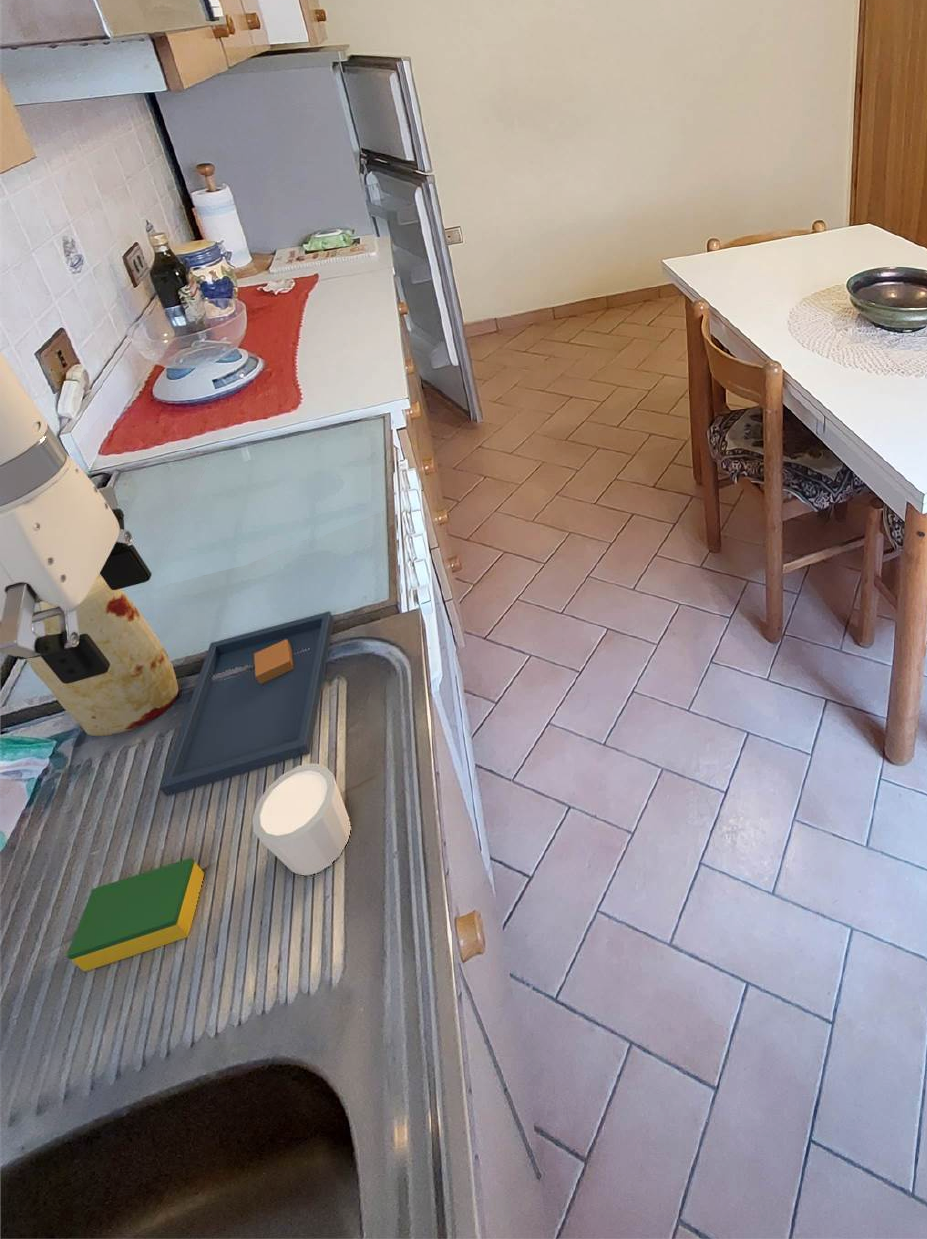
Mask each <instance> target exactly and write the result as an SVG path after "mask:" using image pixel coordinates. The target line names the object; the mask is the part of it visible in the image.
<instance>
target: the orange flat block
mask: <svg viewBox="0 0 927 1239" xmlns="http://www.w3.org/2000/svg"><path fill="white" fill-rule="evenodd" d="M254 662H255V677H256V678H257V680H258V682H259V683H260V684H263V683H265V682H267V681H269V680H271V679H273V678H275V677H278V676H280V675H282V674H284V673H286V672H288V671H290V670H293V669H294V666H293V658H292V650H291V646H290V644H289V642H288V640H287V639H286V640H283V641H281V642H279V643H277V644H275V645H272V646H270V647H268V648H266V649H263V650H261V651H259V652H257V653H255V654H254Z"/></svg>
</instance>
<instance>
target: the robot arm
mask: <svg viewBox="0 0 927 1239" xmlns="http://www.w3.org/2000/svg"><path fill="white" fill-rule="evenodd" d="M45 419H46V418H44V416H43V415H42V413H41V411H40V410H39V409H38V407H37V406H36V404H35V403H34V401H33V400H32V398H31V396H30V395H29V393H28V392H27V390H26V389H25V387H24V386H23V384H22V382H21V381H20V379H19V377H18V376H17V375H16V373H15V372H14V370H13V369H12V367H11V365H10V364H9V362H8V360H6V358H5V356H4V355H3V354H2V352H1V351H0V653H1V654H5V655H8V656H12V657H15V658H17V659H18V660H21V661H22V660H26V659H28V658H37V657H40V656H41V657H42V659H43V660H44V661H45V662H46V663H47V665H48V666H49V667H50V668H51V670H52V671H53V672H54V673H55V674H56V676H57V677H58V678H59V679H60V681H61V682H62V683H65V684H69V683H73V682H76V681H80V680H83V679H87V678H90V677H94V676H97V675H101V674H104V673H106V672H107V671H108V669H109V667H110V663H109V661H108V660H107V658H106V657H105V656H104V654H103V653H102V652H101V650H100V649H99V648H98V646H97V645H96V644H95V642H94V641H93V640H92V638H91V637H90V636H89V635H88V634H87V633H86V634H81V635H79V627H78V618H77V609H76V608H77V607H78V606H79V605H80V604H81V603H82V601H83V600H84V599H85V597H86V596H87V594H88V593H89V591H90V589H91V587H92V586H93V584H94V582H95V580H96V579H97V577H98V575H99V573H100V574H101V576H102V577H103V579H104V580H105V582H106V583H107V584H108V586H109V587H110V589H111V590H118V589H121V590H123V589H125V588H129V587H133V586H136V585H140V584H144V583H147V582H149V581H150V580H151V578H152V575H153V573H152V572H151V570H150V569H149V568H148V566H147V564H146V563H145V561H144V559H143V558H142V557H141V556H142V555H141V554H140V553H139V551H137V549H136V547H135V545H134V544H131V543H132V541H133V535H132V533H131V531H130V530H128V529H125V518H124V517H125V514H124V511H123V510H122V509H121V508H119V503H118V499H117V496H116V495H117V494H116V492H115V491H116V490H115V489H114V487H113V486H111V485H108V486H105V487H101V488H97V486H96V484H94V482H93V481H92V480H91V479H90V478H89V477H88V475H87V474H86V472H84V471H83V468H81V467H80V466H79V465H78V463H76V462H75V461H74V459H73V458H72V457H71V456H70V455H69V454H68V453H67V451H66V450H65V448H64V447H63V445H62V444H61V442H60V440H59V439H58V437H57V436H56V435H55V433H54V431H53V430H52V428H51V426H50V425H49V424H48V423H47V421H46V420H45ZM43 601H44V602H46V603H48V604H50V605H52V606H54V607H55V606H58V605H59V607H55V608H51V609H48V610H44V611H41V606H40V602H43ZM57 615H59V622H60V631H61V633H60V634H53V635H46V632H45V622H44V619H46V618H50V617H54V616H57Z"/></svg>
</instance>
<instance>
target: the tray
mask: <svg viewBox="0 0 927 1239" xmlns="http://www.w3.org/2000/svg"><path fill="white" fill-rule="evenodd" d="M334 623H335V619H334V616H333V614H332V612H331V611H326V612H322V613H318V614H314V615H311V616H307V617H303V618H300V619H296V620H292V621H288V622H284V623H280V624H277V625H273V626H269V627H265V628H261V629H257V630H254V631H249V632H247V633H243V634H238V635H235V636H231V637H228V638H223V639H220V640H216V641H212V642H210V644H209V647H208V649H207V653H206V654H205V658H204V661H203V664H202V666H201V669H200V672H199V675H198V678H197V680H196V684H195V687H194V689H193V692H192V694H191V698H190V701H189V703H188V705H187V709H186V711H185V713H184V716H183V717H184V718H183V721H182V723H181V726H180V728H179V732H178V733H177V738H176V740H175V743H174V746H173V748H172V751H171V754H170V757H169V760H168V763H167V766H166V767H165V771H164V774H163V777H162V779H161V783H160V785H159V789H160V790H161V792H162V793H163V794H164V796H165V797H170V796H172V795H176V794H180V793H182V792H186V791H189V790H193V789H196V788H200V787H203V786H206V785H210V784H213V783H217V782H220V781H223V780H226V779H230V778H234V777H236V776H240V775H243V774H246V773H249V772H253V771H256V770H260V769H263V768H267V767H269V766H273V765H276V764H279V763H284V762H286V761H290V760H294V759H297V758H299V757H300V758H301V757H303V756H306V755H309V754H310V753H311V751H312V750H311V749H312V743H313V738H314V733H315V729H316V728H315V727H316V722H317V716H318V711H319V706H320V700H321V695H322V688H323V683H324V677H325V671H326V666H327V663H328V655H329V651H330V645H331V640H332V633H333V629H334V628H333V627H334ZM286 639H287V640H288V642H289V644H290V646H291V650H292V656H293V666H294V669H293V670H290V671H288V672H286V673H284V674H282V675H280V676H278V677H275V678H273V679H271V680H269V681H267V682H265V683H263V684H260V683H259V682H258V680H257V678H256V677H255V668H254V670H253V668H252V670H251V671H250V670H249V672H246V673H243V672H242V674H241V673H240V675H237V676H235V677H233V678H229V679H226V680H224V679H223V680H220V681H219V680H218V681H217V680H216V681H215V682H214V681H213V682H211V681H212V677H213V675H215V674H218V673H222V672H225V671H226V670H229V669H231V670H232V669H235V668H236V667H238V668H239V667H245V666H246V665H248V666H249V665H251V666H252V665H253V666H254V665H255V662H254V654H255V653H257V652H259V651H261V650H263V649H266V648H268V647H270V646H272V645H275V644H277V643H279V642H281V641H283V640H286ZM308 648H310V652H309V651H307V652H306V651H305V652H304V653H303V651H302V649H303V650H305V649H307V650H308ZM300 651H302V654H301V655H300V654H298V655H297V652H299V653H300ZM294 653H296V654H295V655H294ZM215 676H216V675H215Z"/></svg>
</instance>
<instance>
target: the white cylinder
mask: <svg viewBox="0 0 927 1239" xmlns="http://www.w3.org/2000/svg"><path fill="white" fill-rule="evenodd" d="M251 819H252V831H253V834H254V835H255V836H256V837H257V838H258V840H259V841H260V842H261V843H262V844H263V845H264V846H265V847H266V848H267V849H268V850H269V851H270V852H271V853H272V854H273V855H274V856H275V857H276V858H277V859H278V860H279V861H280V862H282V864H284V865H285V866H286V867H287V869H288V870H290V871H291V873H293V872H294V873H298V874H301V875H308V874H314V873H317V872H318V871H320V870H322V869H324V868H326V867H328V866H329V865H331V864H332V862H333V861H334V860H335V859H336V857H338V856H339V854H340V853H341V851H342V850H343V849H344V847H345V845H346V844H347V842H348V839H349V835H350V836H351V834H350V830H351V831H352V826H350V825H351V821H349V820H350V817H349V814H348V811H347V808H346V806H345V803H344V800H343V798H342V795H341V792H340V788H339V787H338V783H337V781H336V778H335V775H334V773H333V772H332V771H331V770H330V769H329V768H328V767H327V766H326V765H325V764H319V763H315V762H312V763H307V764H301V765H297V766H295V767H293V768H292V769H290V770H288V771H286V772H285V773H283V774H281V775H280V776H279V777H278V778H276V779H275V780H274V782H272V783H271V784H270V785H269V786H268V787H267V788H266V790H265V791H264V792H263V794H262V795H261V797H260V798H259V800H258V801H257V802H256V806H255V809H254V811H253V815H252V817H251ZM349 840H350V839H349ZM347 845H348V844H347ZM332 865H333V864H332ZM332 865H331V866H332ZM294 873H293V874H294Z"/></svg>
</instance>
